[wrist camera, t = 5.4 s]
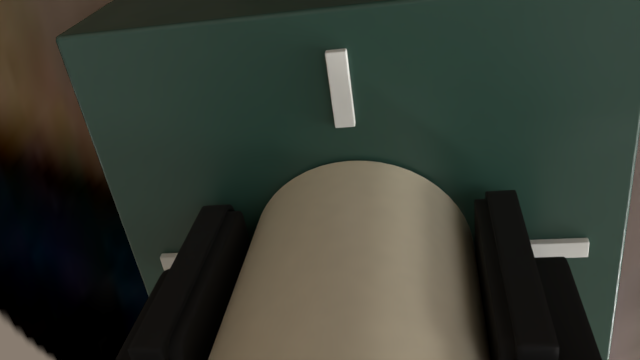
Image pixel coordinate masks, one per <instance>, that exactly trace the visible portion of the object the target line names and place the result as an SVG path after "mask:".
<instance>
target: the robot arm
mask: <svg viewBox="0 0 640 360" xmlns="http://www.w3.org/2000/svg"><path fill="white" fill-rule="evenodd" d="M474 220H475V256H476V263H477V270H478V276H479V283H480V290H481V297H482V303H483V310H484V317H485V324H486V330H487V337H488V344H489V351H490V357H491V360H602V358H601V355H600V352H599V349H598V347H597V344H596V341H595V338H594V335H593V332H592V329H591V327H590V324H589V321H588V318H587V315H586V312H585V309H584V306H583V304H582V301H581V298H580V295H579V292H578V289H577V286H576V284H575V281H574V278H573V275H572V272H571V269H570V266H569V264H568V261H567V259H566V258H565V257H534V254H533V250H532V246H531V243H530V239H529V236H528V232H527V229H526V225H525V221H524V218H523V214H522V211H521V207H520V203H519V200H518V196H517V193H516V190H501V191H486V192H485V199H475V200H474ZM249 246H250V240H249V236H248V232H247V228H246V224H245V220H244V216H243V213H242V212H241V211H235V210H234V208H233V206H232V205H230V204H226V205H207V206H203V207H202V208H201V210H200V212H199V214H198V216H197V218H196V219H195V221H194V223H193V225H192V227H191V229H190V231H189V233H188V235H187V237H186V239H185V241H184V242H183V244H182V246H181V248H180V250H179V252H178V254H177V256H176V258H175V260H174V262H173V264H172V266H171V267H170V269H167V270H165V271H163V273H162V274H161V276H160V277H159V279H158V281H157V283H156V284H155V286H154V288H153V290H152V292H151V294H150V296H149V298H148V299H147V301H146V303H145V305H144V307H143V309H142V311H141V313H140V314H139V316H138V318H137V320H136V322H135V324H134V326H133V328H132V329H131V331H130V333H129V335H128V337H127V339H126V341H125V342H124V344H123V346H122V348H121V350H120V352H119V354H118V356H117V357H116V359H115V360H208V358H209V355H210V353H211V350H212V347H213V344H214V342H215V339H216V336H217V334H218V331H219V328H220V325H221V323H222V320H223V317H224V314H225V312H226V309H227V306H228V303H229V301H230V298H231V295H232V293H233V290H234V287H235V284H236V282H237V279H238V276H239V273H240V271H241V268H242V265H243V263H244V260H245V257H246V254H247V252H248V249H249Z"/></svg>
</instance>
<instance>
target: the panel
mask: <svg viewBox="0 0 640 360" xmlns="http://www.w3.org/2000/svg"><path fill="white" fill-rule="evenodd" d="M56 43H57V45H58V48H59V51H60V54H61V56H62V59H63V62H64V65H65V67H66V70H67V73H68V76H69V78H70V81H71V84H72V87H73V89H74V92H75V95H76V98H77V100H78V103H79V106H80V109H81V111H82V114H83V117H84V120H85V122H86V125H87V128H88V131H89V133H90V136H91V139H92V142H93V144H94V147H95V150H96V153H97V156H98V158H99V161H100V164H101V167H102V169H103V172H104V175H105V178H106V180H107V183H108V186H109V189H110V191H111V194H112V197H113V200H114V202H115V205H116V208H117V211H118V213H119V216H120V219H121V222H122V224H123V227H124V230H125V233H126V235H127V238H128V241H129V244H130V246H131V249H132V252H133V255H134V257H135V260H136V263H137V266H138V268H139V271H140V274H141V277H142V279H143V282H144V285H145V288H146V290H147V293H148V296H150V294H151V292H152V290H153V288H154V286H155V284H156V283H157V281H158V279H159V277H160V276H161V274H162V273H163V271H165V270H167V269H170V267H171V266H172V264H173V262H174V260H175V258H176V256H177V254H178V252H179V250H180V248H181V246H182V244H183V242H184V241H185V239H186V237H187V235H188V233H189V231H190V229H191V227H192V225H193V223H194V221H195V219H196V218H197V216H198V214H199V212H200V210H201V208H202V207H203V206H207V205H226V204H230V205H232V206H233V208H234V210H235V211H241V212H242V213H243V216H244V220H245V224H246V228H247V232H248V236H249V240H250V243H251V241H252V238H253V235H254V233H255V230H256V227H257V224H258V222H259V219H260V216H261V214H262V212H263V210H264V208H265V207H266V205H267V203H268V202H269V201H270V199H271V198H272V197H273V195H274V194H275V193H276V192H277V191H278V190H279V189H281V188H282V187H283V186H284V185H285V184H287V183H288V182H289V181H291V180H292V179H293V178H295V177H297V176H299V175H301V174H303V173H304V172H306V171H309V170H311V169H314V168H317V167H319V166H323V165H327V164H331V163H335V162H343V161H374V162H382V163H386V164H391V165H395V166H398V167H401V168H404V169H407V170H410V171H412V172H414V173H416V174H418V175H420V176H422V177H424V178H426V179H427V180H429V181H430V182H432V183H433V184H435V185H436V186H438V187H439V188H440V189H441V190H442V191H443V192H445V193H446V194H447V195H448V196H449V197H450V198H451V199H452V200H453V202H454V203H455V204H456V205H457V206H458V208H459V209H460V211H461V212H462V214H463V215H464V217H465V219H466V221H467V223H468V225H469V228H470V231H471V234H472V238H473V243H474V249H475V220H474V200H475V199H485V192H486V191H501V190H516V193H517V196H518V200H519V203H520V207H521V211H522V214H523V218H524V221H525V225H526V229H527V232H528V236H529V239H530V243H531V246H532V250H533V254H534V257H565V258H566V259H567V261H568V264H569V266H570V269H571V272H572V275H573V278H574V281H575V284H576V286H577V289H578V292H579V295H580V298H581V301H582V304H583V306H584V309H585V312H586V315H587V318H588V321H589V324H590V327H591V329H592V332H593V335H594V338H595V341H596V344H597V347H598V349H599V352H600V355H601V358H602V360H609V355H610V348H611V340H612V333H613V326H614V318H615V311H616V303H617V296H618V288H619V281H620V273H621V266H622V259H623V251H624V244H625V236H626V229H627V221H628V214H629V207H630V199H631V192H632V184H633V177H634V169H635V162H636V155H637V147H638V140H639V132H640V0H113V1H112V2H110V3H108V4H107V5H105V6H104V7H102V8H101V9H99V10H98V11H96V12H94V13H93V14H91V15H90V16H88V17H87V18H85V19H84V20H82V21H80V22H79V23H77V24H76V25H74V26H73V27H71V28H70V29H68V30H67V31H65V32H63V33H62V34H60V35H59V36H57V37H56Z"/></svg>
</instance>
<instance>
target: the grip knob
mask: <svg viewBox="0 0 640 360" xmlns="http://www.w3.org/2000/svg"><path fill="white" fill-rule="evenodd" d="M208 360H491V357H490V351H489V344H488V337H487V330H486V324H485V317H484V310H483V303H482V297H481V290H480V283H479V276H478V270H477V263H476V256H475V249H474V243H473V238H472V234H471V231H470V228H469V225H468V223H467V221H466V219H465V217H464V215H463V214H462V212H461V211H460V209H459V208H458V206H457V205H456V204H455V203H454V202H453V200H452V199H451V198H450V197H449V196H448V195H447V194H446V193H445V192H443V191H442V190H441V189H440V188H439V187H438V186H436V185H435V184H433V183H432V182H430V181H429V180H427V179H426V178H424V177H422V176H420V175H418V174H416V173H414V172H412V171H410V170H407V169H404V168H401V167H398V166H395V165H391V164H386V163H382V162H374V161H343V162H335V163H331V164H327V165H323V166H319V167H317V168H314V169H311V170H309V171H306V172H304V173H303V174H301V175H299V176H297V177H295V178H293V179H292V180H291V181H289V182H288V183H287V184H285V185H284V186H283V187H282V188H281V189H279V190H278V191H277V192H276V193H275V194H274V195H273V197H272V198H271V199H270V201H269V202H268V203H267V205H266V207H265V208H264V210H263V212H262V214H261V216H260V219H259V222H258V224H257V227H256V230H255V233H254V235H253V238H252V241H251V243H250V246H249V249H248V252H247V254H246V257H245V260H244V263H243V265H242V268H241V271H240V273H239V276H238V279H237V282H236V284H235V287H234V290H233V293H232V295H231V298H230V301H229V303H228V306H227V309H226V312H225V314H224V317H223V320H222V323H221V325H220V328H219V331H218V334H217V336H216V339H215V342H214V344H213V347H212V350H211V353H210V355H209V358H208Z"/></svg>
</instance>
